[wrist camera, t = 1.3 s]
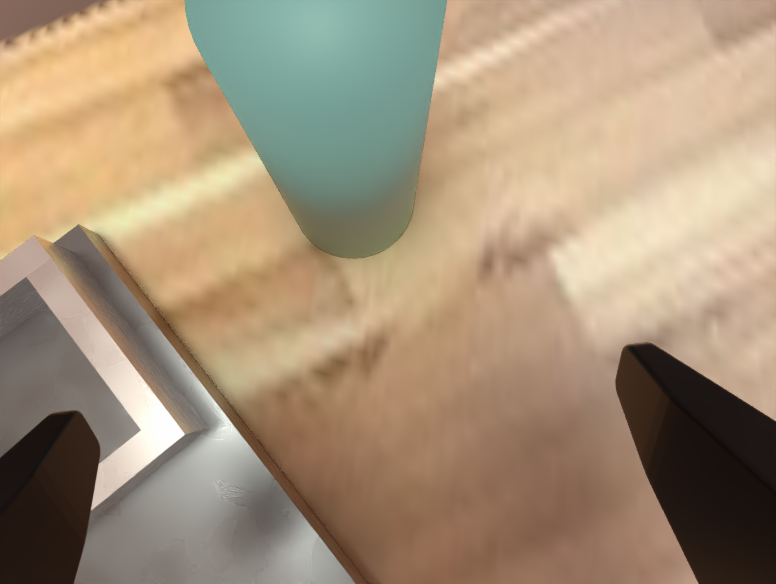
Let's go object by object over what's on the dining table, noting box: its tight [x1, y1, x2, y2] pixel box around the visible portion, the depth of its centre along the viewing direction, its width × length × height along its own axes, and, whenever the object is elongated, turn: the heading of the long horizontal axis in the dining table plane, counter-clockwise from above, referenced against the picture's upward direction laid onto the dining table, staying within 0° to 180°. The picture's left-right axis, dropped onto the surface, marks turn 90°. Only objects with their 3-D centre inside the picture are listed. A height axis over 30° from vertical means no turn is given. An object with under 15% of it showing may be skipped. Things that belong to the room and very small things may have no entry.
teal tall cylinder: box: [185, 0, 447, 258], centre depth 17 cm, size 5×5×13 cm
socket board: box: [0, 225, 368, 584], centre depth 20 cm, size 18×14×4 cm
